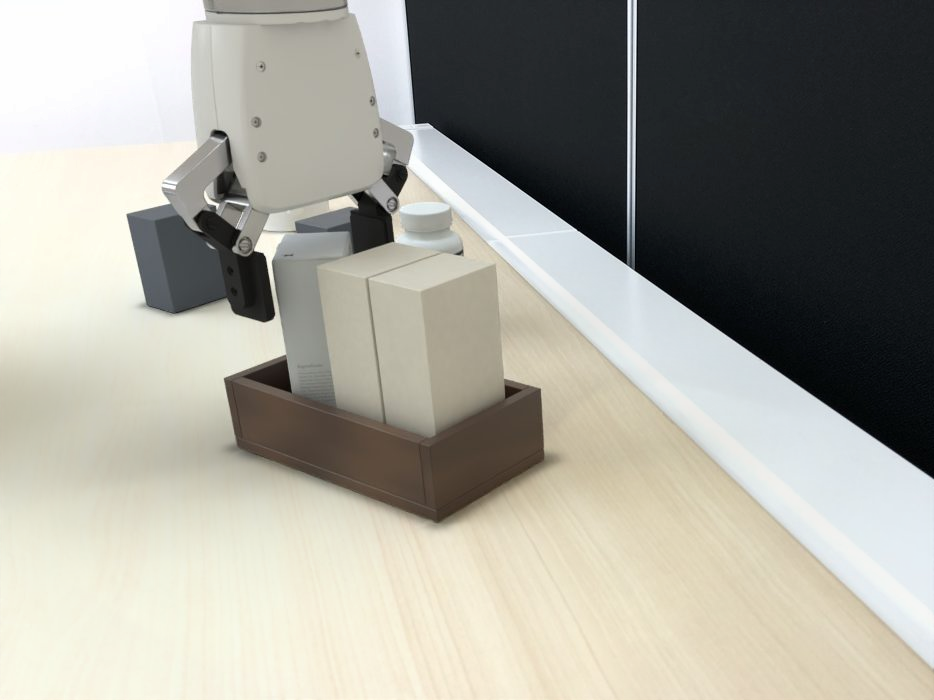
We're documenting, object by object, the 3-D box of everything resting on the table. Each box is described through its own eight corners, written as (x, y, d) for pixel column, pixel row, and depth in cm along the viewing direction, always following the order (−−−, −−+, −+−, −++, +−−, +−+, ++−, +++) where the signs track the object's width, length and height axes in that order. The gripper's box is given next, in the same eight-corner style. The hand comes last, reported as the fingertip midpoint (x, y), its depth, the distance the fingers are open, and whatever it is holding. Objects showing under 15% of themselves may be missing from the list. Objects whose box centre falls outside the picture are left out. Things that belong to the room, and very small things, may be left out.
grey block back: (146, 305, 96) (125, 213, 92) (205, 287, 100) (187, 199, 96) (174, 313, 94) (154, 220, 90) (233, 294, 98) (216, 205, 94)
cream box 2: (392, 474, 65) (367, 278, 60) (461, 437, 70) (444, 252, 64) (441, 491, 63) (420, 290, 58) (509, 453, 68) (496, 262, 62)
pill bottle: (390, 332, 89) (376, 212, 85) (425, 312, 94) (413, 197, 89) (448, 340, 87) (437, 218, 83) (481, 319, 92) (472, 202, 87)
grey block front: (308, 315, 93) (294, 221, 89) (361, 296, 97) (349, 206, 94) (341, 324, 91) (327, 228, 87) (393, 304, 95) (383, 212, 92)
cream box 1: (343, 456, 67) (315, 265, 62) (413, 422, 72) (392, 241, 66) (390, 473, 65) (365, 277, 60) (458, 437, 70) (441, 251, 64)
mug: (346, 234, 116) (333, 132, 111) (268, 244, 113) (250, 139, 108) (322, 209, 125) (309, 114, 120) (249, 217, 122) (232, 120, 117)
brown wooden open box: (236, 447, 71) (222, 377, 68) (350, 397, 78) (340, 332, 75) (437, 523, 62) (429, 446, 59) (545, 459, 69) (541, 388, 66)
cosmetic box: (370, 443, 69) (344, 256, 64) (300, 448, 68) (268, 260, 63) (374, 404, 74) (351, 229, 69) (309, 409, 74) (280, 232, 68)
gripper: (348, -22, 68) (379, 252, 76) (85, -3, 55) (156, 323, 63) (437, -17, 64) (461, 270, 72) (178, 4, 51) (241, 349, 59)
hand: (318, 294), depth 67 cm, fingers open, 9 cm apart
